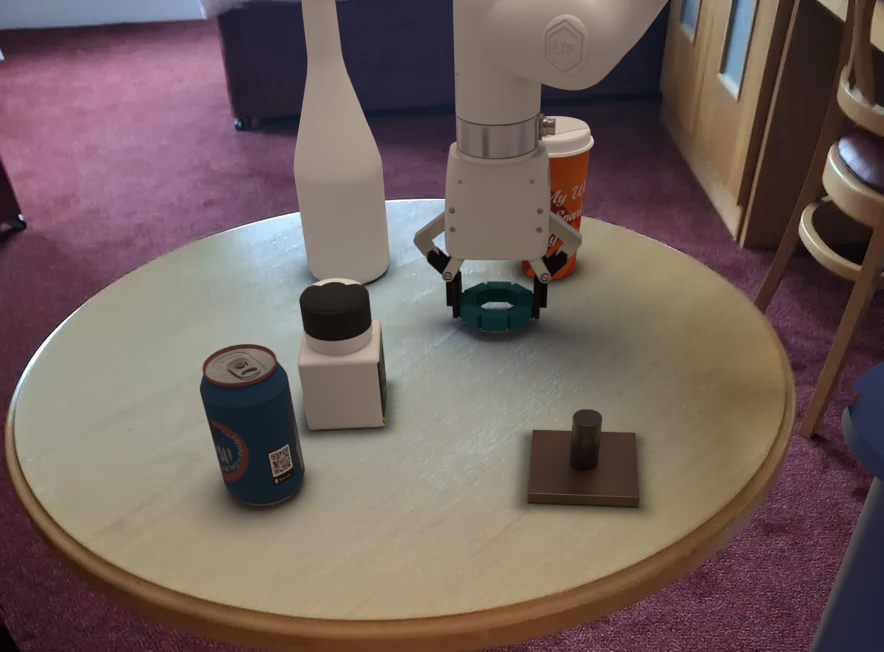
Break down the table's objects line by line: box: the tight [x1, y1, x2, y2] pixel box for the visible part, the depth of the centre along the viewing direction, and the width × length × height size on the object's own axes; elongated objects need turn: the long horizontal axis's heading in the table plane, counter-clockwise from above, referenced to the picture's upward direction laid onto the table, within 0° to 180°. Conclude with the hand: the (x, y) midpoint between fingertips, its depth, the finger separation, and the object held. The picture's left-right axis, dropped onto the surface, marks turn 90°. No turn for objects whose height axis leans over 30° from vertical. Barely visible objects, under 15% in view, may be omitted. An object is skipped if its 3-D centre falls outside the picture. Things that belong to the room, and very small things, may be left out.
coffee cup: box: [521, 115, 595, 281], centre depth 99 cm, size 8×8×15 cm
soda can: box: [199, 343, 306, 507], centre depth 74 cm, size 7×7×12 cm
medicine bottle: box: [297, 278, 388, 431], centre depth 82 cm, size 7×7×12 cm
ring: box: [458, 280, 534, 333], centre depth 94 cm, size 8×8×2 cm
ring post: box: [527, 408, 641, 508], centre depth 76 cm, size 9×9×6 cm
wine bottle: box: [293, 0, 391, 285], centre depth 96 cm, size 10×10×30 cm
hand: (496, 311), depth 95 cm, fingers closed on ring, 7 cm apart
